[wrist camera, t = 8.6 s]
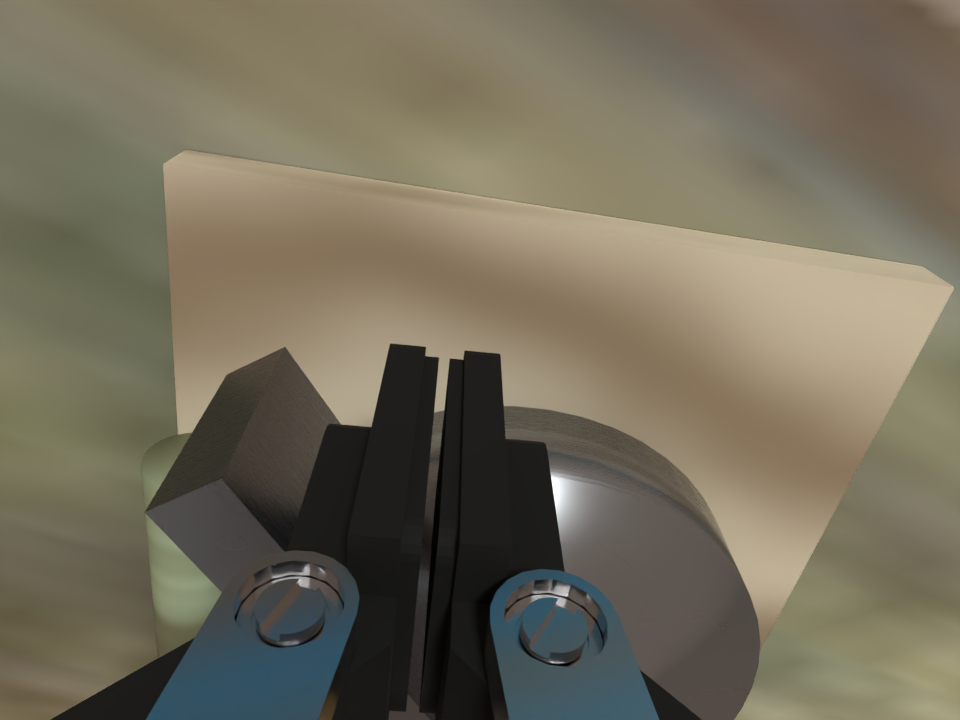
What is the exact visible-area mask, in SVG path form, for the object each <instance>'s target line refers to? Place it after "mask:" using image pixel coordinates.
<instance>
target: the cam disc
mask: <svg viewBox="0 0 960 720" xmlns="http://www.w3.org/2000/svg"><path fill="white" fill-rule="evenodd" d="M443 418H444V411H439V412H435V413H434V419H433V430H432V441H431V451H430V462H429V473H428V484H427V495H426V506H425V517H424V527H423V538H422V549H421V559H420V570H419V581H418V591H417V602H416V612H415V623H414V633H413V644H412V654H411V665H410V675H409V686H408V696H407V707H406V712H400V711H389V719H388V720H435V714H433V713H419V706H420V692H421V679H422V665H423V652H424V639H425V625H426V612H427V599H428V585H429V572H430V559H431V545H432V532H433V519H434V507H435V496H436V486H437V476H438V467H439V457H440V447H441V438H442V428H443ZM504 420H505V436H506V439H514V440H526V441H537V442H544V443H545V444H546V447H547V452H548V459H549V466H550V473H551V479H552V486H553V493H554V500H555V507H556V514H557V521H558V528H559V535H560V542H561V549H562V556H563V563H564V570H565V572H566V573H569V574H572V575H575V576H578V577H580V578H582V579H584V580H585V581H587V582H589V583H590V584H592V585H594V586H595V587H597V588H598V589H599V590H600V591H601V592H602V593H603V594H604V595H605V596H606V597H607V598H608V599H609V600H610V602H611V604H612V605H613V607H614V609H615V610H616V612H617V614H618V616H619V618H620V620H621V623H622V625H623V628H624V630H625V633H626V636H627V638H628V641H629V643H630V646H631V648H632V651H633V653H634V656H635V659H636V661H637V664H638V666H639V669H640V670H641V671H642V672H643V673H645V674H646V675H647V676H648V677H650V678H651V679H652V680H653V681H655V682H656V683H657V684H658V685H660V686H661V687H662V688H663V689H665V690H666V691H667V692H668V693H670V694H671V695H672V696H673V697H674V698H676V699H677V700H678V701H679V702H681V703H682V704H683V705H684V706H686V707H687V708H688V709H689V710H691V711H692V712H693V713H694V714H696V715H697V716H698V717H699V718H701V719H702V720H734V719H735V717H736V716H737V714H738V713H739V711H740V710H741V709H742V707H743V705H744V703H745V701H746V699H747V696H748V694H749V692H750V690H751V688H752V685H753V682H754V679H755V675H756V672H757V668H758V663H759V653H760V634H759V625H758V618H757V615H756V612H755V609H754V606H753V603H752V600H751V597H750V594H749V592H748V590H747V588H746V585H745V583H744V581H743V579H742V577H741V574H740V572H739V570H738V568H737V566H736V563H735V561H734V559H733V557H732V555H731V552H730V550H729V548H728V546H727V543H726V541H725V539H724V537H723V535H722V532H721V530H720V528H719V526H718V524H717V521H716V519H715V517H714V515H713V514H712V512H711V510H710V508H709V506H708V505H707V503H706V501H705V499H704V497H703V496H702V495H701V494H700V492H699V491H698V490H697V488H696V487H695V486H694V485H693V483H692V482H691V481H690V480H689V478H688V477H687V476H686V475H685V474H683V473H682V472H681V471H680V470H679V469H678V468H677V467H676V466H675V465H674V464H673V463H671V462H670V461H669V460H668V459H667V458H666V457H664V456H663V455H661V454H660V453H658V452H657V451H655V450H654V449H652V448H651V447H649V446H648V445H646V444H645V443H643V442H642V441H640V440H638V439H636V438H634V437H632V436H630V435H628V434H626V433H624V432H622V431H619V430H617V429H615V428H613V427H610V426H607V425H604V424H602V423H599V422H596V421H593V420H590V419H587V418H584V417H581V416H576V415H571V414H567V413H562V412H557V411H553V410H548V409H538V408H528V407H518V406H504ZM328 424H341V423H340V422H339V421H338V419H337V418H336V416H335V415H334V414H333V412H332V411H331V410H330V408H329V407H328V405H327V404H326V403H325V401H324V400H323V398H322V397H321V396H320V394H319V393H318V392H317V390H316V389H315V387H314V386H313V385H312V383H311V382H310V380H309V379H308V378H307V376H306V375H305V374H304V372H303V371H302V369H301V368H300V367H299V365H298V364H297V362H296V361H295V360H294V358H293V357H292V356H291V354H290V353H289V351H288V350H287V349H286V347H284V348H281V349H279V350H277V351H275V352H273V353H271V354H269V355H267V356H265V357H263V358H260V359H258V360H256V361H254V362H252V363H250V364H248V365H246V366H244V367H241V368H239V369H237V370H235V371H233V372H231V373H229V374H227V375H226V377H225V378H224V380H223V382H222V383H221V385H220V387H219V388H218V390H217V392H216V393H215V395H214V397H213V398H212V400H211V402H210V403H209V405H208V407H207V408H206V410H205V412H204V413H203V415H202V417H201V419H200V420H199V422H198V424H197V425H196V427H195V429H194V430H193V432H192V434H191V435H190V437H189V439H188V440H187V442H186V444H185V445H184V447H183V449H182V450H181V452H180V454H179V455H178V457H177V459H176V460H175V462H174V464H173V465H172V467H171V469H170V470H169V472H168V474H167V475H166V477H165V479H164V480H163V482H162V484H161V486H160V487H159V489H158V491H157V492H156V494H155V496H154V497H153V499H152V501H151V502H150V504H149V506H148V507H147V509H146V511H145V513H146V514H147V515H148V516H149V518H150V519H151V520H152V521H153V522H154V523H155V524H156V525H157V526H158V527H159V528H160V529H161V530H162V531H163V532H164V533H165V534H166V535H167V536H168V537H169V538H170V539H171V540H172V541H173V542H174V543H175V544H176V545H177V547H178V548H179V549H180V550H181V551H182V552H183V553H184V554H185V555H186V556H187V557H188V558H189V559H190V560H191V561H192V562H193V563H194V564H195V565H196V566H197V567H198V568H199V569H200V570H201V571H202V572H203V573H204V575H205V576H206V577H207V578H208V579H209V580H210V581H211V582H212V583H213V584H214V585H215V586H216V587H217V588H218V589H219V590H220V591H221V592H223V590H224V588H225V587H226V586H227V585H228V583H229V582H230V581H231V580H232V579H233V577H234V576H235V575H236V574H237V573H238V572H239V571H241V570H242V569H244V568H245V567H246V566H248V565H249V564H251V563H252V562H254V561H256V560H258V559H261V558H263V557H266V556H269V555H271V554H274V553H280V552H286V551H287V549H288V546H289V543H290V540H291V537H292V533H293V530H294V527H295V524H296V521H297V518H298V515H299V511H300V508H301V505H302V502H303V499H304V496H305V492H306V489H307V486H308V483H309V480H310V477H311V474H312V470H313V467H314V464H315V461H316V458H317V455H318V451H319V448H320V445H321V442H322V439H323V436H324V433H325V430H326V427H327V425H328Z"/></svg>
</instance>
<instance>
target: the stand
mask: <svg viewBox="0 0 960 720" xmlns="http://www.w3.org/2000/svg"><path fill="white" fill-rule="evenodd" d="M163 172H164V190H165V208H166V226H167V244H168V262H169V280H170V298H171V316H172V334H173V352H174V370H175V388H176V406H177V424H178V435H175V436H172V437H169V438H166V439H164V440H162V441H160V442H158V443H156V444H155V445H153V446H152V447H151V448H150V449H149V450H148V451H147V452H146V453H145V454H144V456H143V458H142V461H141V473H142V484H143V495H144V506H145V511H146V509H147V507H148V506H149V504H150V502H151V501H152V499H153V497H154V496H155V494H156V492H157V491H158V489H159V487H160V486H161V484H162V482H163V480H164V479H165V477H166V475H167V474H168V472H169V470H170V469H171V467H172V465H173V464H174V462H175V460H176V459H177V457H178V455H179V454H180V452H181V450H182V449H183V447H184V445H185V444H186V442H187V440H188V439H189V437H190V435H191V434H192V432H193V430H194V429H195V427H196V425H197V424H198V422H199V420H200V419H201V417H202V415H203V413H204V412H205V410H206V408H207V407H208V405H209V403H210V402H211V400H212V398H213V397H214V395H215V393H216V392H217V390H218V388H219V387H220V385H221V383H222V382H223V380H224V378H225V377H226V375H227V374H229V373H231V372H233V371H235V370H237V369H239V368H241V367H244V366H246V365H248V364H250V363H252V362H254V361H256V360H258V359H260V358H263V357H265V356H267V355H269V354H271V353H273V352H275V351H277V350H279V349H281V348H284V347H286V349H287V350H288V351H289V353H290V354H291V356H292V357H293V358H294V360H295V361H296V362H297V364H298V365H299V367H300V368H301V369H302V371H303V372H304V374H305V375H306V376H307V378H308V379H309V380H310V382H311V383H312V385H313V386H314V387H315V389H316V390H317V392H318V393H319V394H320V396H321V397H322V398H323V400H324V401H325V403H326V404H327V405H328V407H329V408H330V410H331V411H332V412H333V414H334V415H335V416H336V418H337V419H338V421H339V422H340V423H341V425H353V426H364V427H372V422H373V418H374V413H375V409H376V404H377V400H378V395H379V391H380V386H381V382H382V377H383V373H384V368H385V364H386V359H387V355H388V350H389V346H390V344H402V345H413V346H423V347H426V355H425V356H429V357H439V364H438V375H437V386H436V397H435V408H434V413H435V412H439V411H444V409H445V399H446V389H447V380H448V370H449V361H450V358H451V359H462V360H463V357H464V351H465V350H466V351H477V352H487V353H498V354H500V356H501V371H502V387H503V404H504V406H518V407H528V408H538V409H548V410H553V411H557V412H562V413H567V414H571V415H576V416H581V417H584V418H587V419H590V420H593V421H596V422H599V423H602V424H604V425H607V426H610V427H613V428H615V429H617V430H619V431H622V432H624V433H626V434H628V435H630V436H632V437H634V438H636V439H638V440H640V441H642V442H643V443H645V444H646V445H648V446H649V447H651V448H652V449H654V450H655V451H657V452H658V453H660V454H661V455H663V456H664V457H666V458H667V459H668V460H669V461H670V462H671V463H673V464H674V465H675V466H676V467H677V468H678V469H679V470H680V471H681V472H682V473H683V474H685V475H686V476H687V477H688V478H689V480H690V481H691V482H692V483H693V485H694V486H695V487H696V488H697V490H698V491H699V492H700V494H701V495H702V496H703V497H704V499H705V501H706V503H707V505H708V506H709V508H710V510H711V512H712V514H713V515H714V517H715V519H716V521H717V524H718V526H719V528H720V530H721V532H722V535H723V537H724V539H725V541H726V543H727V546H728V548H729V550H730V552H731V555H732V557H733V559H734V561H735V563H736V566H737V568H738V570H739V572H740V574H741V577H742V579H743V581H744V583H745V585H746V588H747V590H748V592H749V594H750V597H751V600H752V603H753V606H754V609H755V612H756V615H757V618H758V625H759V634H760V650H761V648H762V646H763V644H764V642H765V640H766V639H767V637H768V635H769V633H770V631H771V629H772V627H773V625H774V624H775V622H776V620H777V618H778V616H779V614H780V612H781V611H782V609H783V607H784V605H785V603H786V601H787V599H788V597H789V596H790V594H791V592H792V590H793V588H794V586H795V584H796V583H797V581H798V579H799V577H800V575H801V573H802V571H803V569H804V568H805V566H806V564H807V562H808V560H809V558H810V556H811V555H812V553H813V551H814V549H815V547H816V545H817V543H818V541H819V540H820V538H821V536H822V534H823V532H824V530H825V528H826V527H827V525H828V523H829V521H830V519H831V517H832V515H833V513H834V512H835V510H836V508H837V506H838V504H839V502H840V500H841V499H842V497H843V495H844V493H845V491H846V489H847V487H848V485H849V484H850V482H851V480H852V478H853V476H854V474H855V472H856V471H857V469H858V467H859V465H860V463H861V461H862V459H863V457H864V456H865V454H866V452H867V450H868V448H869V446H870V444H871V443H872V441H873V439H874V437H875V435H876V433H877V431H878V429H879V428H880V426H881V424H882V422H883V420H884V418H885V416H886V415H887V413H888V411H889V409H890V407H891V405H892V403H893V401H894V400H895V398H896V396H897V394H898V392H899V390H900V388H901V387H902V385H903V383H904V381H905V379H906V377H907V375H908V373H909V372H910V370H911V368H912V366H913V364H914V362H915V360H916V359H917V357H918V355H919V353H920V351H921V349H922V347H923V345H924V344H925V342H926V340H927V338H928V336H929V334H930V332H931V331H932V329H933V327H934V325H935V323H936V321H937V319H938V317H939V316H940V314H941V312H942V310H943V308H944V306H945V304H946V303H947V301H948V299H949V297H950V295H951V293H952V291H953V289H954V287H953V286H951V285H950V284H948V283H947V282H945V281H944V280H942V279H941V278H939V277H937V276H936V275H934V274H933V273H931V272H930V271H928V270H927V269H925V268H924V267H922V266H917V265H911V264H904V263H898V262H892V261H885V260H879V259H873V258H866V257H860V256H854V255H847V254H841V253H835V252H829V251H822V250H816V249H810V248H803V247H797V246H791V245H784V244H778V243H772V242H765V241H759V240H753V239H746V238H740V237H734V236H727V235H721V234H715V233H708V232H702V231H696V230H690V229H683V228H677V227H671V226H664V225H658V224H652V223H645V222H639V221H633V220H626V219H620V218H614V217H607V216H601V215H595V214H588V213H582V212H576V211H570V210H563V209H557V208H551V207H544V206H538V205H532V204H525V203H519V202H513V201H506V200H500V199H494V198H487V197H481V196H475V195H468V194H462V193H456V192H450V191H443V190H437V189H431V188H424V187H418V186H412V185H405V184H399V183H393V182H386V181H380V180H374V179H367V178H361V177H355V176H348V175H342V174H336V173H330V172H323V171H317V170H311V169H304V168H298V167H292V166H285V165H279V164H273V163H266V162H260V161H254V160H247V159H241V158H235V157H228V156H222V155H216V154H210V153H203V152H197V151H191V150H185V151H183V152H181V153H180V154H178V155H177V156H175V157H174V158H172V159H170V160H169V161H167V162H166V163H164V164H163ZM145 517H146V529H147V540H148V551H149V562H150V573H151V585H152V596H153V607H154V618H155V629H156V640H157V652H158V658H160V657H161V656H163V655H165V654H167V653H168V652H170V651H172V650H174V649H176V648H177V647H179V646H181V645H183V644H184V643H186V642H188V641H190V640H191V639H193V638H195V637H196V635H197V633H198V632H199V630H200V628H201V627H202V625H203V623H204V622H205V620H206V618H207V617H208V615H209V613H210V612H211V610H212V608H213V607H214V605H215V603H216V602H217V600H218V598H219V597H220V595H221V593H222V592H221V591H220V590H219V589H218V588H217V587H216V586H215V585H214V584H213V583H212V582H211V581H210V580H209V579H208V578H207V577H206V576H205V575H204V573H203V572H202V571H201V570H200V569H199V568H198V567H197V566H196V565H195V564H194V563H193V562H192V561H191V560H190V559H189V558H188V557H187V556H186V555H185V554H184V553H183V552H182V551H181V550H180V549H179V548H178V547H177V545H176V544H175V543H174V542H173V541H172V540H171V539H170V538H169V537H168V536H167V535H166V534H165V533H164V532H163V531H162V530H161V529H160V528H159V527H158V526H157V525H156V524H155V523H154V522H153V521H152V520H151V519H150V518H149V516H148V515H147V514H146V513H145Z"/></svg>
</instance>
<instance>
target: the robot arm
mask: <svg viewBox="0 0 960 720" xmlns="http://www.w3.org/2000/svg"><path fill="white" fill-rule="evenodd" d="M425 355H426V347H423V346H413V345H402V344H390V346H389V350H388V355H387V359H386V364H385V368H384V373H383V377H382V382H381V386H380V391H379V395H378V400H377V404H376V409H375V413H374V418H373V422H372V427H364V426H353V425H341V424H328V425H327V427H326V430H325V433H324V436H323V439H322V442H321V445H320V448H319V451H318V455H317V458H316V461H315V464H314V467H313V470H312V474H311V477H310V480H309V483H308V486H307V489H306V492H305V496H304V499H303V502H302V505H301V508H300V511H299V515H298V518H297V521H296V524H295V527H294V530H293V533H292V537H291V540H290V543H289V546H288V549H287V551H286V552H280V553H274V554H271V555H269V556H266V557H263V558H261V559H258V560H256V561H254V562H252V563H251V564H249V565H248V566H246V567H245V568H244V569H242V570H241V571H239V572H238V573H237V574H236V575H235V576H234V577H233V579H232V580H231V581H230V582H229V583H228V585H227V586H226V587H225V588H224V590H223V592H222V593H221V595H220V597H219V598H218V600H217V602H216V603H215V605H214V607H213V608H212V610H211V612H210V613H209V615H208V617H207V618H206V620H205V622H204V623H203V625H202V627H201V628H200V630H199V632H198V633H197V635H196V637H195V638H193V639H191V640H190V641H188V642H186V643H184V644H183V645H181V646H179V647H177V648H176V649H174V650H172V651H170V652H168V653H167V654H165V655H163V656H161V657H160V658H158V659H156V660H154V661H153V662H151V663H149V664H147V665H146V666H144V667H142V668H140V669H139V670H137V671H135V672H133V673H132V674H130V675H128V676H126V677H125V678H123V679H121V680H119V681H118V682H116V683H114V684H112V685H111V686H109V687H107V688H105V689H104V690H102V691H100V692H98V693H97V694H95V695H93V696H91V697H89V698H88V699H86V700H84V701H82V702H81V703H79V704H77V705H75V706H74V707H72V708H70V709H68V710H67V711H65V712H63V713H61V714H60V715H58V716H56V717H54V718H53V719H51V720H388V719H389V711H400V712H406V707H407V696H408V686H409V675H410V665H411V654H412V644H413V633H414V623H415V612H416V602H417V591H418V581H419V570H420V559H421V549H422V538H423V527H424V517H425V506H426V495H427V484H428V473H429V462H430V451H431V441H432V430H433V419H434V408H435V397H436V386H437V375H438V364H439V357H429V356H425ZM419 713H433V714H435V720H702V719H701V718H699V717H698V716H697V715H696V714H694V713H693V712H692V711H691V710H689V709H688V708H687V707H686V706H684V705H683V704H682V703H681V702H679V701H678V700H677V699H676V698H674V697H673V696H672V695H671V694H670V693H668V692H667V691H666V690H665V689H663V688H662V687H661V686H660V685H658V684H657V683H656V682H655V681H653V680H652V679H651V678H650V677H648V676H647V675H646V674H645V673H643V672H642V671H641V670H640V669H639V666H638V664H637V661H636V659H635V656H634V653H633V651H632V648H631V646H630V643H629V641H628V638H627V636H626V633H625V630H624V628H623V625H622V623H621V620H620V618H619V616H618V614H617V612H616V610H615V609H614V607H613V605H612V604H611V602H610V600H609V599H608V598H607V597H606V596H605V595H604V594H603V593H602V592H601V591H600V590H599V589H598V588H597V587H595V586H594V585H592V584H590V583H589V582H587V581H585V580H584V579H582V578H580V577H578V576H575V575H572V574H569V573H566V572H565V570H564V563H563V556H562V549H561V542H560V535H559V528H558V521H557V514H556V507H555V500H554V493H553V486H552V479H551V473H550V466H549V459H548V452H547V447H546V444H545V443H544V442H537V441H526V440H514V439H506V436H505V420H504V404H503V387H502V371H501V356H500V354H498V353H487V352H477V351H466V350H465V351H464V357H463V360H462V359H451V358H450V361H449V370H448V380H447V389H446V399H445V409H444V418H443V428H442V438H441V447H440V457H439V467H438V476H437V486H436V496H435V507H434V519H433V532H432V545H431V559H430V572H429V585H428V599H427V612H426V625H425V639H424V652H423V665H422V679H421V692H420V706H419Z"/></svg>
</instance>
